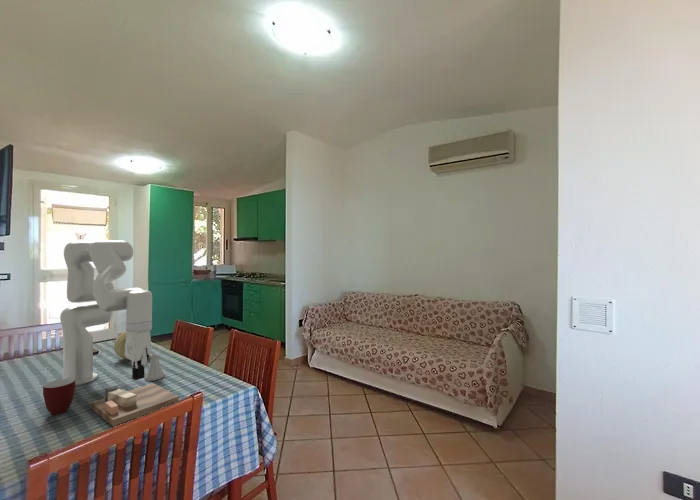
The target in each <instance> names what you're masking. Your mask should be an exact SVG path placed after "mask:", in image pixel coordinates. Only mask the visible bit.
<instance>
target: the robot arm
mask: <svg viewBox="0 0 700 500" xmlns="http://www.w3.org/2000/svg"><path fill="white" fill-rule="evenodd" d="M133 256H134V248H133V246H132V245H131V244H130V242H128V241H127V240H119V239H118V240H115V239H114V240H113V239H109V240H108V239H102V240H101V239H99V240H95V241H94V240H93V241H92V240H79V241H78V240H77V241H70V242H69V243H67V244H66V245H65V247H64V249H63V257H64V262H65V264H66V268H67V278H66V279H67V282H66V298H67V300H68V302H70V303H73V304H78V305H73V306H72V305H71V306H69V307H66V308H65V309H63V310H62V311H61V313H60V315H59V316H60V317H59V319H60V320H59V321H60V323H61V329H62V337H63V338H62V340H63V342H62V343H63V344H62V345H63V347H62V348H63V350H62V351H63V352H62V354H63V356H62V358H63V361H62V363H63V365H62V367H63V370H62V373H63V376H62V377H63V378H62V379H68V378H72V379H75V387H76V386H80V385H84V384H87V383H90V382H93V381H95V380H96V379H97V378H98V373H96V372H94V354H93V353H94V337H93V335H92V334H91V332H90V331H88V330H87V328H90V327H94V326H100V325H101V326H102V325H106V324H108V323H109V322H111V320H112V318H113V313H114V312H116V311H125V310H126V311H125V313H126V314H125V331H126V332H127V333H126V341H125V357H126V358H128V359H127V360H130V361H131V371H132V375H131V378H132V380H133V381H137V380H141V379H144V378H145V367H146V365H147V364H148V360H149V359H151V355H152V339H151V337H152V336H151V331H152V329H153V324H152V323H153V315H152V314H153V294H152V292H151V291H150V290H147V289H146V290H145V289H143V288H142V287H127V288H115V287H114V284H113V281H116V280H117V279H119V278H121V277H122V276H123V275H124V274H126V271H127V267H126V265H125V263H124V262H128V261H130V260H131V259H132V258H133ZM90 262H91V263H90ZM92 264H93V265H94V266H93V265H92ZM95 269H96V271H97V273H98V274H97V276H96V277H95ZM91 302H92V303H91ZM94 302H96V303H94ZM82 303H89V304H82ZM79 304H80V305H79Z"/></svg>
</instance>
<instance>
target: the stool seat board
mask: <svg viewBox="0 0 700 500" xmlns="http://www.w3.org/2000/svg"><path fill="white" fill-rule="evenodd" d="M126 391H127V392H130V393H133V394H137V404H135V405H133V406H130V407H128V408H125V407H122V406H120V405H118V413H116V414H113V415H111V414H110V413H108V412H107V411H106V410H105V402H108V401H105V397H104V398H101V399H98V400H95V401H93V402H90V408H91V410H93V411H94V412H95V413H96V414H97V415H99V417H101V418H102V419H103V420H105V421H106V423H108V424H109V425H111V426H112V427H115V426H118V425H120V424H123V423H126V422H128V421H131V420H134V419H136V418H139V417H142V416H145V415H148V414H150V413H153V412H155V411H154V410H156V411H158V410H160V409H159V408H161V407H164V406H166V405H169V404H172V403H174V402H177V401H179V400H180V399H179V396H178V395H177V394H175V393H174V392H171V391H169V390H167V389H165V388H163V387H161V386H159V385H158V384H155V383H150V384H146V385H144V386H140V387H136V388H134V389H131V390H126ZM179 402H180V401H179ZM177 403H178V402H177ZM174 404H175V403H174ZM172 405H173V404H172ZM169 406H170V405H169ZM166 407H167V406H166ZM164 408H165V407H164ZM157 409H158V410H157ZM161 409H162V408H161ZM152 411H153V412H152Z"/></svg>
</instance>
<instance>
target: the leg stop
mask: <svg viewBox="0 0 700 500" xmlns="http://www.w3.org/2000/svg"><path fill="white" fill-rule="evenodd" d="M105 410H106V411H107V412H108V413H110V414H111V415H113V414H116V413H118V405H117V404H116V403H114V402H113V401H108V402H105Z"/></svg>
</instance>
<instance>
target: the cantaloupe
mask: <svg viewBox="0 0 700 500" xmlns="http://www.w3.org/2000/svg"><path fill="white" fill-rule="evenodd" d="M126 333H127V332H126V330H125V331H124V332H122V333H121V334H119V336H117V337H116V340H115V341H114V343H113V344H114V345H113V350H114V354H116V356H117V357H120V358H122V359H125V360H129V359H128V358H126V357H125V341H126Z"/></svg>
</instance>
